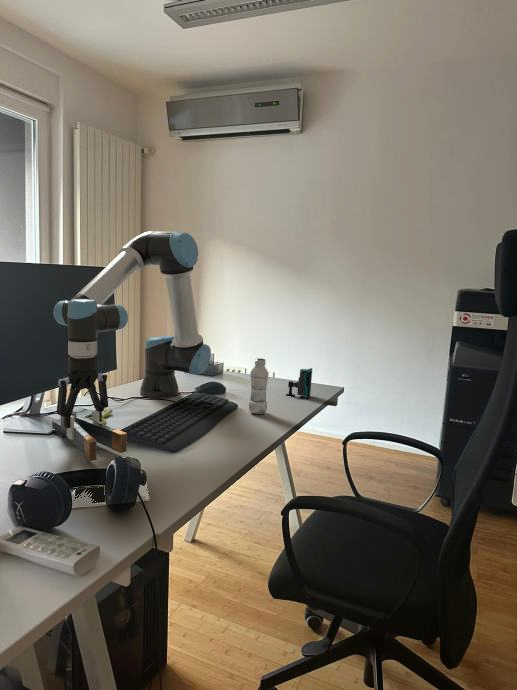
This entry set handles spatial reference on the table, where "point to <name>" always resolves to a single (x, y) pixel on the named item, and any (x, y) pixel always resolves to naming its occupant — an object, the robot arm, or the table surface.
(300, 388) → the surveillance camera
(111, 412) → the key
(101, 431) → the tongs jaw
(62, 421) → the tongs pivot
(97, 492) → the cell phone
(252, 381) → the plastic bottle
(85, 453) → the tongs jaw
